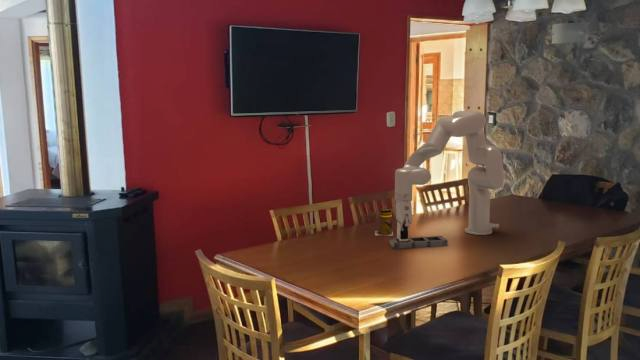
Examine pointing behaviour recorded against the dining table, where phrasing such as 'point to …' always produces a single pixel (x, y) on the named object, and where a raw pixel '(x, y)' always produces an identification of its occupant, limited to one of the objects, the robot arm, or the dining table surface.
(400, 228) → the block
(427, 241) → the grey flat rectangular frame
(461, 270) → the dining table surface
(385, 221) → the condiment
